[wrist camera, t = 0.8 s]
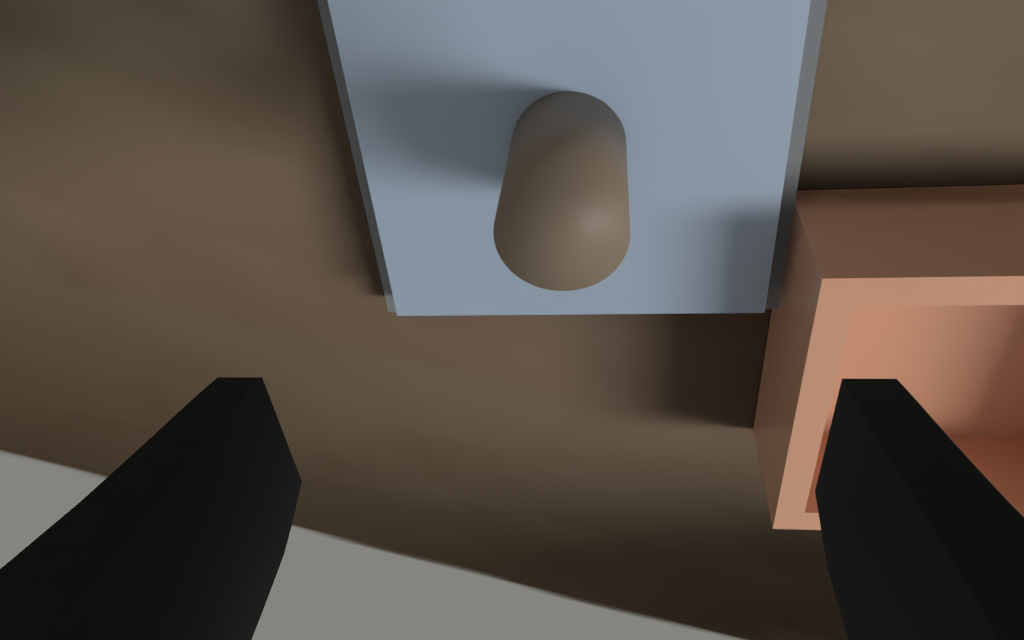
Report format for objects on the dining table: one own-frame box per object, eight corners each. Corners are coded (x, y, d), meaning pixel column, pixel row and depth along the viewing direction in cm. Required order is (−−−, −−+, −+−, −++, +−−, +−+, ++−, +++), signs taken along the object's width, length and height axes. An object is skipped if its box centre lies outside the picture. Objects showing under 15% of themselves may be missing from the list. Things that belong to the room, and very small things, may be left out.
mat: (774, 294, 20) (777, 308, 20) (393, 298, 21) (388, 312, 21) (843, -160, 14) (852, -154, 13) (301, -117, 15) (291, -110, 15)
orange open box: (1045, 433, 22) (1106, 537, 19) (752, 430, 23) (772, 528, 20) (1168, 180, 17) (1274, 272, 14) (790, 190, 18) (822, 278, 15)
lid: (759, 293, 19) (792, 419, 16) (403, 297, 20) (364, 415, 17) (816, -119, 14) (884, -58, 10) (323, -83, 15) (241, -17, 12)
